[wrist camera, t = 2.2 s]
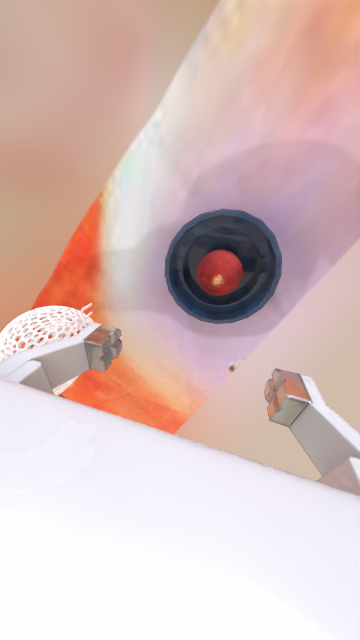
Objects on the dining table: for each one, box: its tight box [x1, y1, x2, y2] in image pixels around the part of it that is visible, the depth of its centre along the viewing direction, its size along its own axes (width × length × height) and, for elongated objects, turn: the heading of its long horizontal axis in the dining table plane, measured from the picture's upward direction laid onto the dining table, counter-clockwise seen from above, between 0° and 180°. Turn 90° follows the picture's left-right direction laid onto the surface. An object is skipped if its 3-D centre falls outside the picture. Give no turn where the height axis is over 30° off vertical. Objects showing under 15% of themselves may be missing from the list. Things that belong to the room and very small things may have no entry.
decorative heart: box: [0, 303, 94, 396], centre depth 32 cm, size 18×11×17 cm, turn 158°
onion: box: [197, 249, 243, 296], centre depth 23 cm, size 6×6×8 cm
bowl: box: [165, 209, 282, 324], centre depth 25 cm, size 14×14×5 cm
